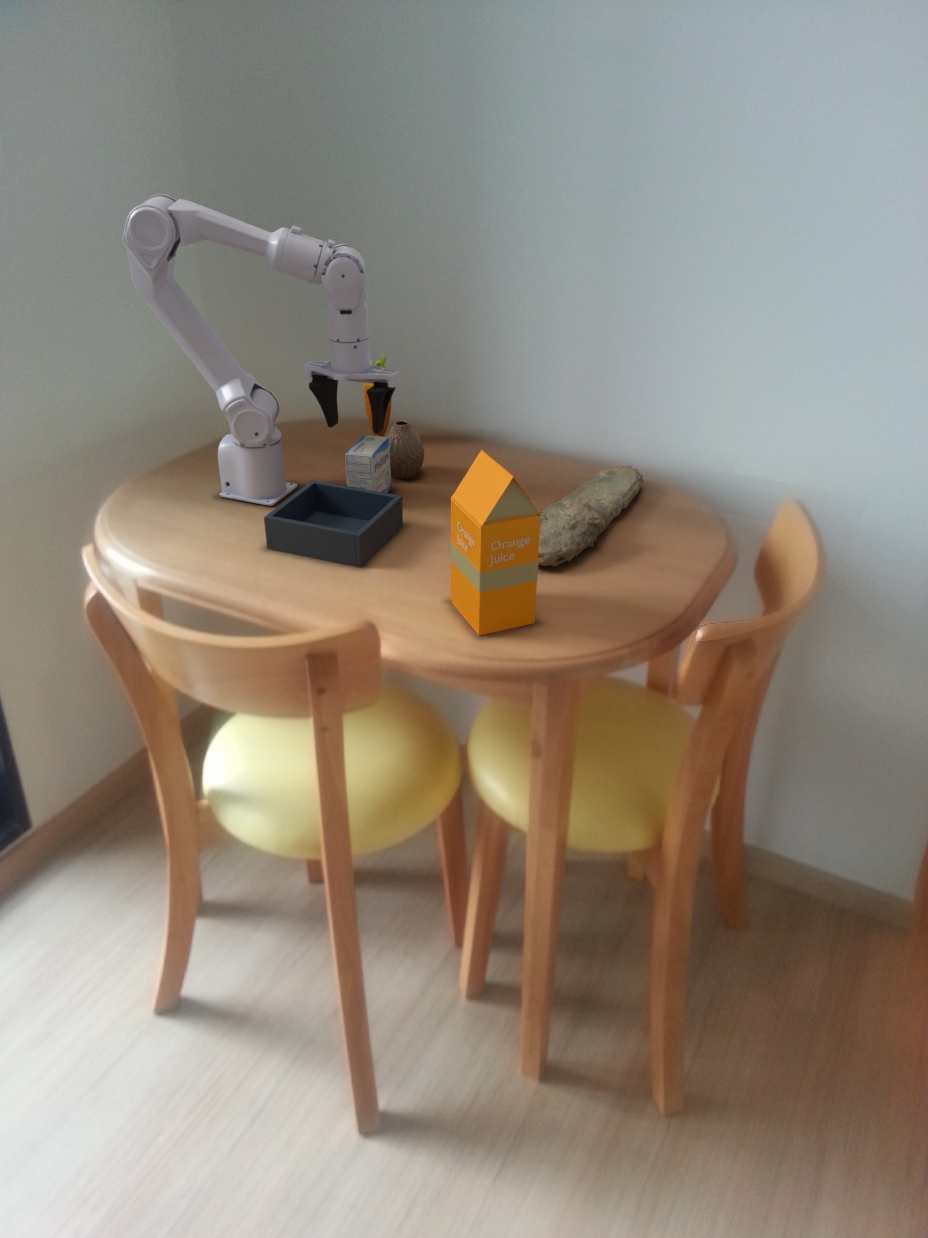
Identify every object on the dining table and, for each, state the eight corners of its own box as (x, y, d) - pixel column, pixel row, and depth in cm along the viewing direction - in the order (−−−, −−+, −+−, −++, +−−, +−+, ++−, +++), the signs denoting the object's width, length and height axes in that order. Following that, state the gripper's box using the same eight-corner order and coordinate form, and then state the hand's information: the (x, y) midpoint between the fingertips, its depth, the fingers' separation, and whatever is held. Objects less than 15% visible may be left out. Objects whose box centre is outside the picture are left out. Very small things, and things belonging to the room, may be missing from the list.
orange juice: (478, 636, 115) (481, 481, 105) (449, 601, 122) (449, 452, 111) (536, 622, 118) (545, 470, 107) (505, 589, 125) (510, 443, 114)
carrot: (361, 444, 167) (357, 358, 159) (369, 434, 171) (365, 350, 163) (389, 446, 166) (387, 360, 158) (396, 436, 170) (393, 352, 163)
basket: (266, 548, 134) (263, 517, 131) (314, 509, 145) (312, 479, 142) (361, 567, 129) (359, 535, 127) (403, 526, 140) (402, 495, 138)
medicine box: (375, 509, 145) (372, 455, 140) (347, 506, 146) (344, 452, 141) (392, 488, 151) (390, 436, 147) (365, 485, 152) (362, 433, 148)
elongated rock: (657, 495, 153) (598, 485, 158) (660, 463, 151) (600, 454, 155) (570, 577, 126) (502, 563, 130) (572, 540, 124) (503, 527, 128)
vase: (432, 472, 157) (432, 420, 152) (408, 486, 152) (406, 433, 148) (398, 463, 160) (396, 412, 156) (373, 476, 155) (370, 424, 151)
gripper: (290, 339, 137) (300, 431, 144) (382, 349, 132) (388, 443, 139) (314, 327, 142) (322, 415, 149) (404, 336, 138) (407, 426, 145)
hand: (355, 428), depth 145 cm, fingers open, 7 cm apart
